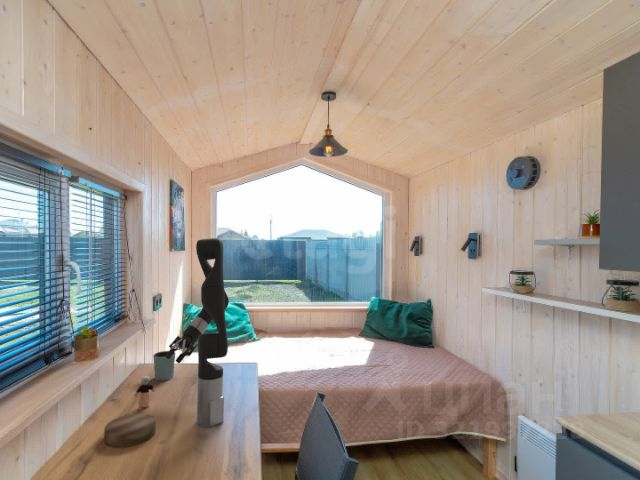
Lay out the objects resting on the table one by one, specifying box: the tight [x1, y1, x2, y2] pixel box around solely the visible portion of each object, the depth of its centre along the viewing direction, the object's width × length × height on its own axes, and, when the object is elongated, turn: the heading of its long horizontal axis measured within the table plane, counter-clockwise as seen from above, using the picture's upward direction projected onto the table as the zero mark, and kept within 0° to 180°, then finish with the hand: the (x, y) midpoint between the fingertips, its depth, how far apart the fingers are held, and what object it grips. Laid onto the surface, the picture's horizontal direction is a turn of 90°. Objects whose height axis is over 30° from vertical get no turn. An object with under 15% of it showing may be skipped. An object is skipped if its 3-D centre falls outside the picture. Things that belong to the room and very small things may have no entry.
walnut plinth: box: [103, 412, 157, 449], centre depth 130 cm, size 16×16×4 cm
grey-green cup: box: [152, 350, 176, 382], centre depth 185 cm, size 10×10×12 cm
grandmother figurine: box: [134, 375, 156, 411], centre depth 152 cm, size 8×4×13 cm, turn 143°
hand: (172, 360), depth 161 cm, fingers open, 8 cm apart
